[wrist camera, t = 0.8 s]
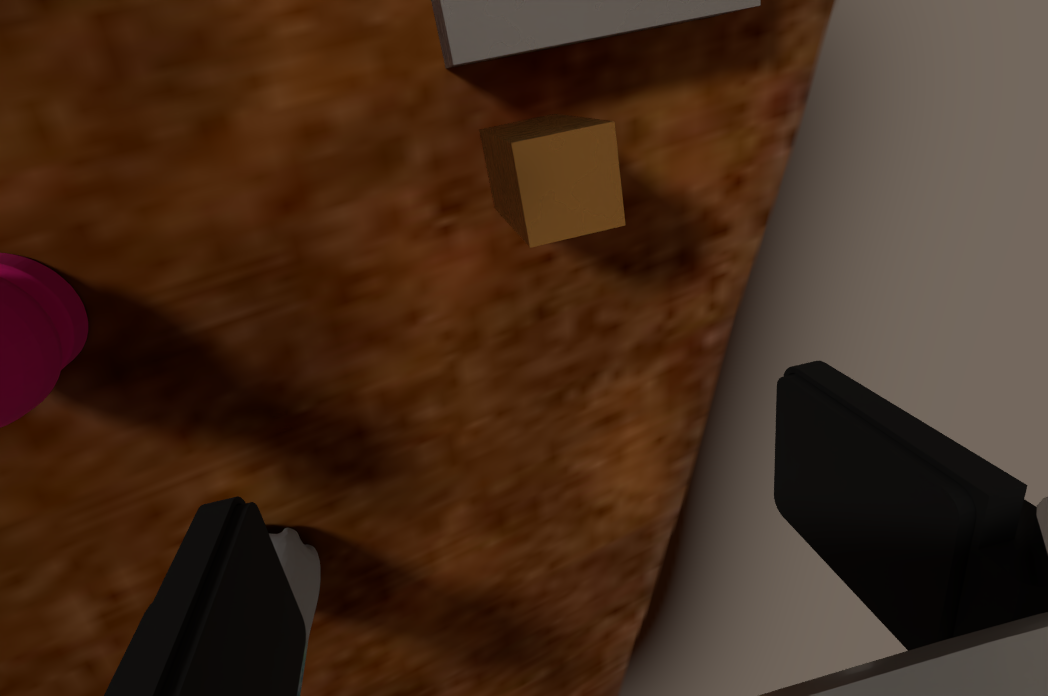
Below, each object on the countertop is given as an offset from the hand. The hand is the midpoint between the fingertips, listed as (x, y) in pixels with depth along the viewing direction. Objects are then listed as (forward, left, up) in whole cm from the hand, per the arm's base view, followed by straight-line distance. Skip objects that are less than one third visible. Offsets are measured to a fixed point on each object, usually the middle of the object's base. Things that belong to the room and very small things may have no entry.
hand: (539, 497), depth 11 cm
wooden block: (-2, +5, -23) cm, 24 cm away
